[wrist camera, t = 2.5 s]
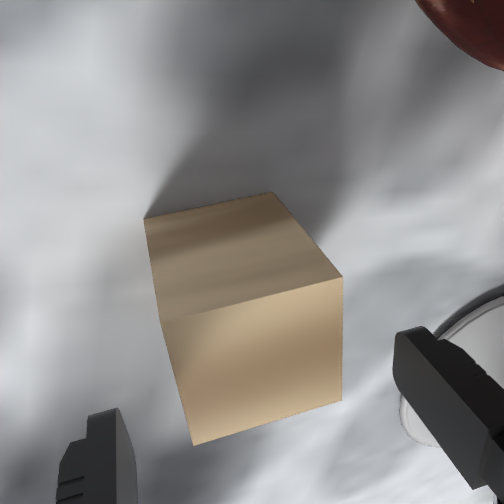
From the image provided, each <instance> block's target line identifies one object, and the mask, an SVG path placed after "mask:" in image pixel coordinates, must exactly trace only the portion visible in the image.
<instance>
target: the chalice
mask: <svg viewBox="0 0 504 504" xmlns="http://www.w3.org/2000/svg"><path fill="white" fill-rule="evenodd" d="M441 339H446V340H448V341H450V342H452V343H453V344H455V345H457V346H459V347H461V348H463V349H464V350H465V351H466V352H467V353H468V354H469V355H470V356H471V357H472V358H473V359H474V360H475V361H476V364H479V365H480V366H481V367H482V368H483V369H484V370H485V371H486V372H487V375H490V376H491V377H492V378H493V379H494V380H495V381H496V382H497V383H498V384H499V385H500V386H501V387H502V388H503V389H504V296H501V297H499V298H497V299H495V300H492V301H490V302H488V303H485V304H484V305H482V306H480V307H479V308H477V309H476V310H474V311H472V312H471V313H469V314H468V315H466V316H464V317H463V318H461V319H460V320H459V321H458V322H457V323H455V324H454V325H453V326H452V327H451V328H449V329H448V330H447V331H446V332H444V333H443V334H442V335H441V336H440V337H439V338H438V339H437V340H441ZM399 412H400V419H401V425H402V426H403V428H404V430H405V431H406V433H407V435H408V436H409V437H411V438H412V439H414V440H415V441H416V442H418V443H421V444H424V445H427V446H431V447H441V446H440V445H439V444H438V442H437V441H436V440H435V438H434V437H433V435H432V434H431V433H430V431H429V430H428V429H427V427H426V426H425V425H424V423H423V422H422V421H421V419H420V418H419V417H418V415H417V414H416V413H415V411H414V410H413V408H412V407H411V406H410V404H409V403H408V402H407V400H406V399H405V398H404V396H403V395H402V397H401V403H400V409H399Z"/></svg>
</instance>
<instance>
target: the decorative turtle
mask: <svg viewBox="0 0 504 504" xmlns="http://www.w3.org/2000/svg"><path fill="white" fill-rule="evenodd" d="M415 1H416V3H417V4H418V5H419V7H420V8H421V9H422V11H423V12H424V13H425V14H426V15H427V17H428V18H429V19H430V20H431V21H432V22H433V23H434V24H435V26H436V27H437V28H438V29H439V30H440V31H441V32H442V33H443V34H444V35H445V36H447V37H448V38H449V39H450V40H451V41H452V42H453V43H454V44H455V45H456V46H457V47H459V48H460V49H461V50H463V51H464V52H466V53H467V54H468V55H470V56H471V57H473V58H475V59H477V60H478V61H480V62H482V63H484V64H485V65H487V66H490V67H493V68H496V69H499V70H502V71H504V0H415Z"/></svg>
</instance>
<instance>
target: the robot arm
mask: <svg viewBox="0 0 504 504" xmlns="http://www.w3.org/2000/svg"><path fill="white" fill-rule="evenodd" d="M393 377H394V380H395V383H396V385H397V387H398V389H399V391H400V392H401V394H402V395H403V396H404V398H405V399H406V400H407V402H408V403H409V404H410V406H411V407H412V408H413V410H414V411H415V413H416V414H417V415H418V417H419V418H420V419H421V421H422V422H423V423H424V425H425V426H426V427H427V429H428V430H429V431H430V433H431V434H432V435H433V437H434V438H435V440H436V441H437V442H438V444H439V445H440V446H441V448H442V449H443V450H444V452H445V453H446V454H447V456H448V457H449V458H450V460H451V461H452V463H453V464H454V465H455V467H456V468H457V469H458V471H459V472H460V473H461V475H462V476H463V477H464V479H465V480H466V481H467V483H468V484H469V486H470V487H471V488H472V490H474V489H477V488H479V487H482V486H485V485H488V486H489V487H490V488H491V490H492V491H493V492H494V497H493V504H504V389H503V388H502V387H501V386H500V385H499V384H498V383H497V382H496V381H495V380H494V379H493V378H492V377H491V376H490V375H487V372H486V371H485V370H484V369H483V368H482V367H481V366H480V365H479V364H476V361H475V360H474V359H473V358H472V357H471V356H470V355H469V354H468V353H467V352H466V351H465V350H464V349H463V348H461V347H459V346H457V345H455V344H453V343H452V342H450V341H448V340H446V339H441V340H437V339H436V338H435V337H434V335H433V334H432V333H431V332H430V331H429V330H428V329H427V328H425V327H423V326H419V327H416V328H412V329H408V330H405V331H401V332H398V333H397V334H396V336H395V346H394V358H393ZM56 504H138V494H137V474H136V462H135V455H134V450H133V446H132V443H131V440H130V438H129V435H128V432H127V429H126V426H125V424H124V421H123V418H122V415H121V413H120V410H119V409H118V408H115V409H111V410H107V411H104V412H100V413H96V414H93V415H89V416H88V420H87V435H86V438H85V439H82V440H78V441H75V442H71V443H70V444H69V446H68V448H67V450H66V452H65V454H64V456H63V458H62V460H61V462H60V466H59V475H58V488H57V492H56Z"/></svg>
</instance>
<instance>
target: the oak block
mask: <svg viewBox="0 0 504 504" xmlns="http://www.w3.org/2000/svg"><path fill="white" fill-rule="evenodd" d="M143 220H144V226H145V232H146V238H147V244H148V251H149V257H150V263H151V269H152V275H153V281H154V287H155V293H156V300H157V306H158V312H159V318H160V324H161V327H162V331H163V335H164V339H165V342H166V346H167V350H168V353H169V357H170V361H171V365H172V368H173V372H174V376H175V379H176V383H177V387H178V390H179V394H180V398H181V402H182V405H183V409H184V413H185V416H186V420H187V424H188V427H189V431H190V435H191V439H192V442H193V446H195V445H198V444H202V443H205V442H208V441H211V440H215V439H218V438H221V437H224V436H228V435H231V434H234V433H237V432H241V431H244V430H247V429H250V428H254V427H257V426H260V425H263V424H267V423H270V422H273V421H276V420H279V419H283V418H286V417H289V416H292V415H296V414H299V413H302V412H305V411H309V410H312V409H315V408H318V407H322V406H325V405H328V404H331V403H335V402H338V401H341V400H342V332H343V276H342V275H341V274H340V273H339V271H338V270H337V269H336V268H335V267H334V265H333V264H332V263H331V262H330V261H329V259H328V258H327V257H326V256H325V254H324V253H323V252H322V251H321V250H320V248H319V247H318V246H317V245H316V244H315V242H314V241H313V240H312V239H311V238H310V236H309V235H308V234H307V233H306V231H305V230H304V229H303V228H302V227H301V225H300V224H299V223H298V222H297V221H296V219H295V218H294V217H293V216H292V215H291V213H290V212H289V211H288V210H287V208H286V207H285V206H284V205H283V204H282V202H281V201H280V200H279V199H278V198H277V196H276V195H275V194H274V193H273V192H269V193H264V194H259V195H255V196H250V197H245V198H240V199H236V200H231V201H226V202H221V203H217V204H212V205H207V206H203V207H198V208H193V209H188V210H184V211H179V212H174V213H169V214H165V215H160V216H155V217H150V218H146V219H143Z"/></svg>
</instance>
